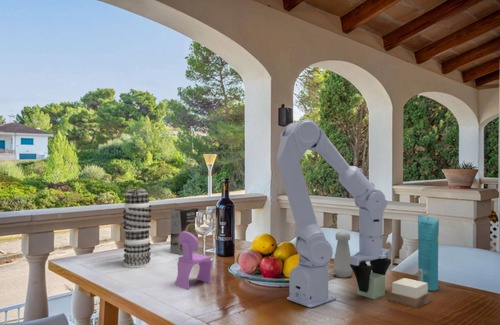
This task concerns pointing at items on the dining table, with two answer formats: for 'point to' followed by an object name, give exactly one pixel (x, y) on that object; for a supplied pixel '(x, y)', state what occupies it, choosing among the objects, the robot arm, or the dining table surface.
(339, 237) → the salt shaker
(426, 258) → the tube
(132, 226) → the decorative candle
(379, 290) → the sage cube
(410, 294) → the cream slab
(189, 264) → the toy chair
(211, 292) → the dining table surface
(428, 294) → the walnut slab
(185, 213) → the coffee box
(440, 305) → the dining table surface
